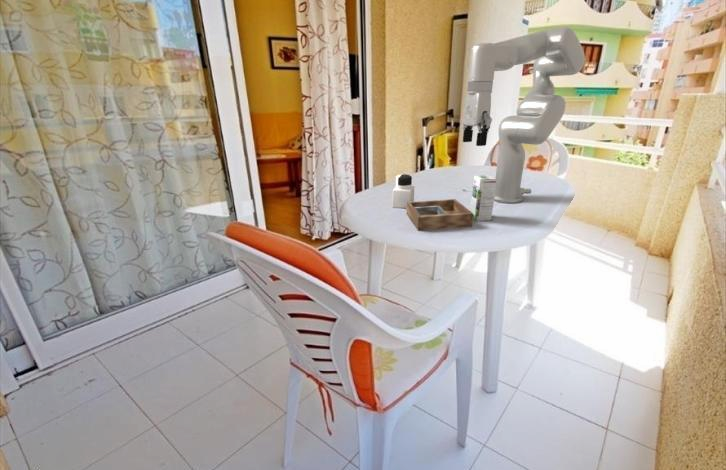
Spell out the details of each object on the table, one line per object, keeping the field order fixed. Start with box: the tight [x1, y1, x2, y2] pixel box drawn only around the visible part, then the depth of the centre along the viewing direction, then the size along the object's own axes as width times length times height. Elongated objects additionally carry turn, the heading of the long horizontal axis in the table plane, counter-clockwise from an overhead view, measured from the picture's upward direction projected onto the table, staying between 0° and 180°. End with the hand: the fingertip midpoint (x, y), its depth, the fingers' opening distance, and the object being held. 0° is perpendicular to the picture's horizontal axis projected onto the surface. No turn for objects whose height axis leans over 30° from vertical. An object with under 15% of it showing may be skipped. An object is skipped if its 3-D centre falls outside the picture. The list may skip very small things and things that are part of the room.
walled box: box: [406, 198, 474, 232], centre depth 116 cm, size 18×16×4 cm
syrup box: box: [469, 174, 497, 222], centre depth 114 cm, size 6×6×14 cm
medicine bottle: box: [391, 173, 415, 209], centre depth 130 cm, size 7×7×12 cm
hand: (473, 143), depth 113 cm, fingers open, 9 cm apart
